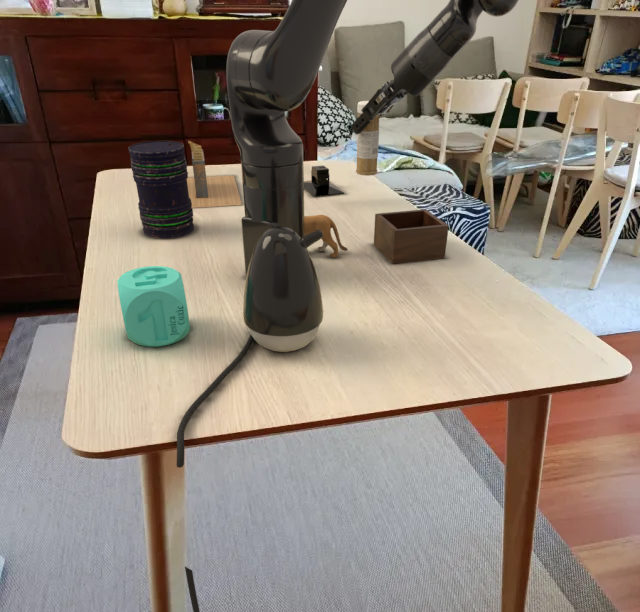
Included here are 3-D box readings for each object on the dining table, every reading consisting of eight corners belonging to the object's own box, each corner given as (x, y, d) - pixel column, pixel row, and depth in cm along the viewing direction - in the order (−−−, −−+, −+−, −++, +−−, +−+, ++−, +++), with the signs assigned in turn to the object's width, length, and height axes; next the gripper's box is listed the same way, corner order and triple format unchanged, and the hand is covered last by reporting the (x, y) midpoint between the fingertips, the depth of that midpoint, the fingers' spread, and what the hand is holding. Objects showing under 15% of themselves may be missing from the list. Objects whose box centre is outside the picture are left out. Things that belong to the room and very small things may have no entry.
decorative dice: (130, 351, 78) (117, 293, 74) (127, 324, 85) (116, 269, 80) (192, 342, 80) (184, 285, 76) (185, 316, 86) (177, 262, 82)
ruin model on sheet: (166, 179, 148) (159, 135, 142) (233, 175, 150) (230, 132, 144) (163, 209, 128) (156, 159, 122) (241, 204, 130) (238, 156, 124)
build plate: (344, 194, 136) (344, 173, 134) (313, 198, 134) (313, 176, 132) (325, 180, 146) (325, 159, 143) (296, 183, 144) (295, 162, 141)
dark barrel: (158, 242, 111) (144, 155, 102) (133, 229, 117) (117, 146, 108) (205, 230, 116) (195, 146, 108) (178, 218, 122) (167, 138, 114)
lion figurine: (263, 259, 104) (260, 206, 99) (264, 248, 108) (261, 197, 103) (348, 258, 105) (350, 204, 99) (346, 247, 109) (347, 195, 104)
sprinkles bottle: (367, 170, 130) (369, 99, 122) (381, 174, 127) (385, 101, 120) (351, 173, 128) (352, 101, 120) (365, 177, 125) (368, 104, 117)
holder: (444, 258, 104) (448, 225, 101) (392, 264, 102) (394, 230, 99) (422, 239, 112) (425, 209, 109) (373, 244, 110) (375, 213, 107)
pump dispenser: (334, 354, 77) (335, 236, 68) (254, 367, 75) (244, 246, 66) (312, 320, 85) (311, 210, 76) (239, 330, 83) (229, 218, 74)
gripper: (421, 41, 117) (360, 107, 128) (397, 46, 106) (333, 118, 117) (444, 74, 118) (382, 137, 129) (423, 82, 108) (357, 150, 119)
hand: (359, 128), depth 123 cm, fingers closed on sprinkles bottle, 4 cm apart
